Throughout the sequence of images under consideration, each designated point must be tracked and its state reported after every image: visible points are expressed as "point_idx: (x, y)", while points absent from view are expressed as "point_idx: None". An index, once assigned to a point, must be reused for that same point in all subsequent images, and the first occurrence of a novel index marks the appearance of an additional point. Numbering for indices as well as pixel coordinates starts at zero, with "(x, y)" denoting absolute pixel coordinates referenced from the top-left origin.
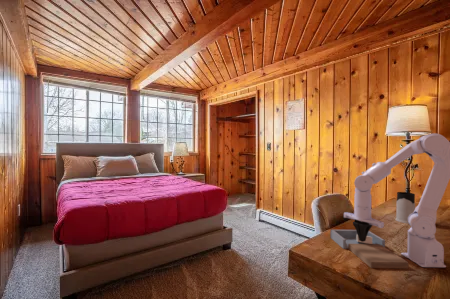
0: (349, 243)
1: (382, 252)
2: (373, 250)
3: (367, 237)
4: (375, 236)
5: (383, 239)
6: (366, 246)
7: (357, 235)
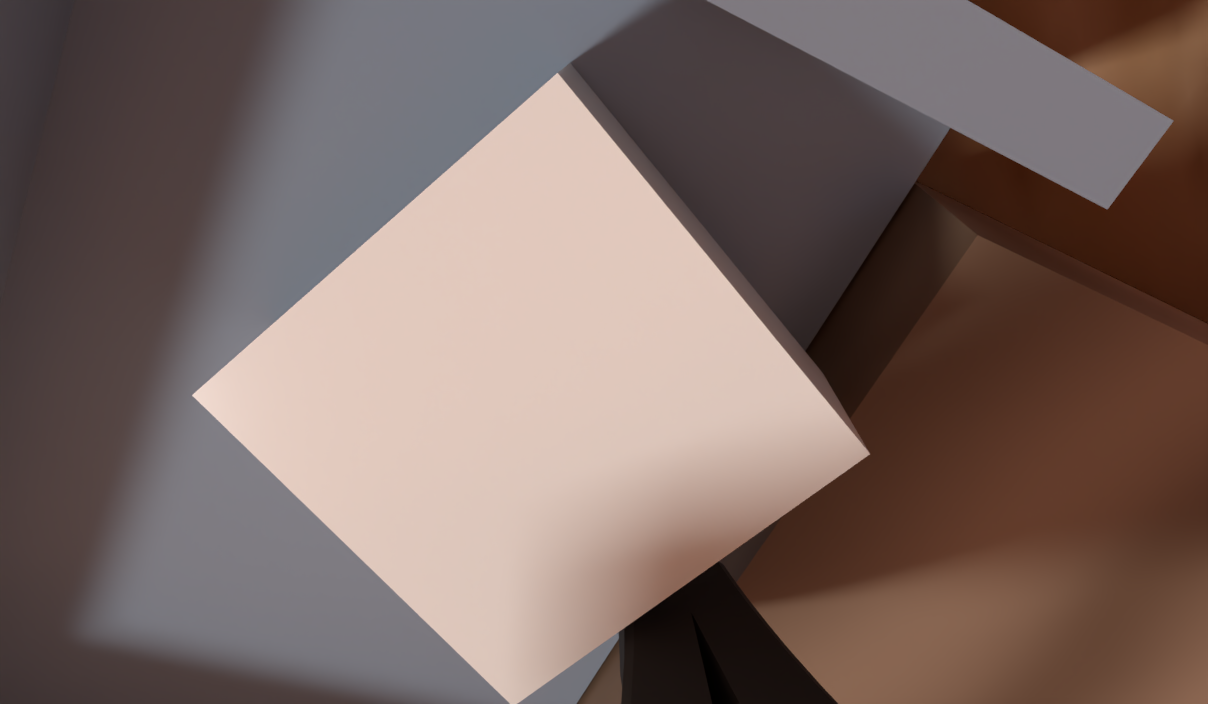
0: (374, 618)
1: (1178, 598)
2: (1024, 676)
3: (744, 524)
4: (771, 32)
5: (1119, 99)
6: (840, 650)
7: (505, 691)
